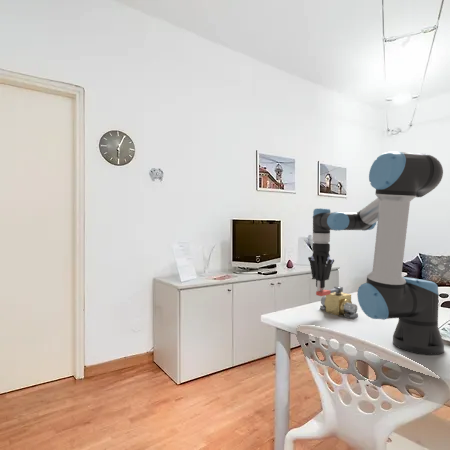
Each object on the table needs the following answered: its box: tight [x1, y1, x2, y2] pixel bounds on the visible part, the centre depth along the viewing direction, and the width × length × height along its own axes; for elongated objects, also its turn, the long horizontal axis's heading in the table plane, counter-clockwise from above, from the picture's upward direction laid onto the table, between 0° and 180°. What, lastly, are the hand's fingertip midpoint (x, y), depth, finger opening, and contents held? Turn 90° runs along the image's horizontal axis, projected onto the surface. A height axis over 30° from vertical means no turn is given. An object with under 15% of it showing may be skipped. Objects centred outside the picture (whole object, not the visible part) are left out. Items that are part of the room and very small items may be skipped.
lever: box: [315, 286, 344, 297], centre depth 149 cm, size 18×4×2 cm, turn 131°
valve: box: [320, 291, 359, 319], centre depth 154 cm, size 8×18×10 cm, turn 29°
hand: (320, 294), depth 148 cm, fingers closed
